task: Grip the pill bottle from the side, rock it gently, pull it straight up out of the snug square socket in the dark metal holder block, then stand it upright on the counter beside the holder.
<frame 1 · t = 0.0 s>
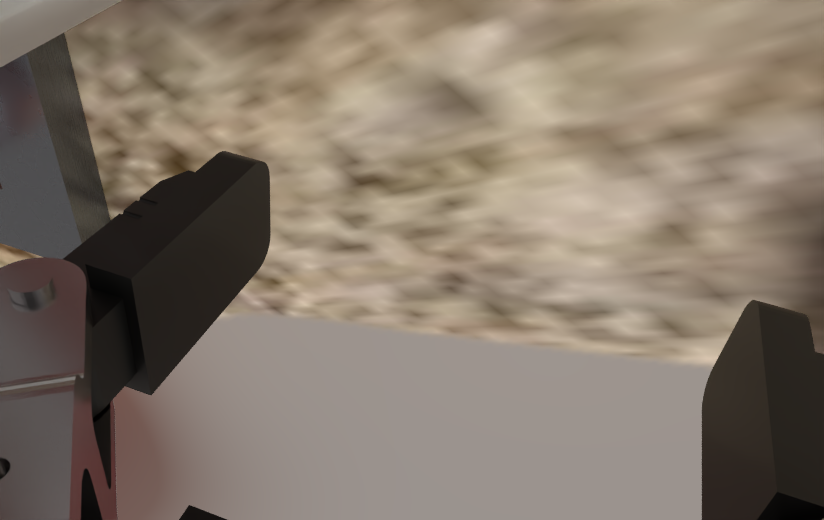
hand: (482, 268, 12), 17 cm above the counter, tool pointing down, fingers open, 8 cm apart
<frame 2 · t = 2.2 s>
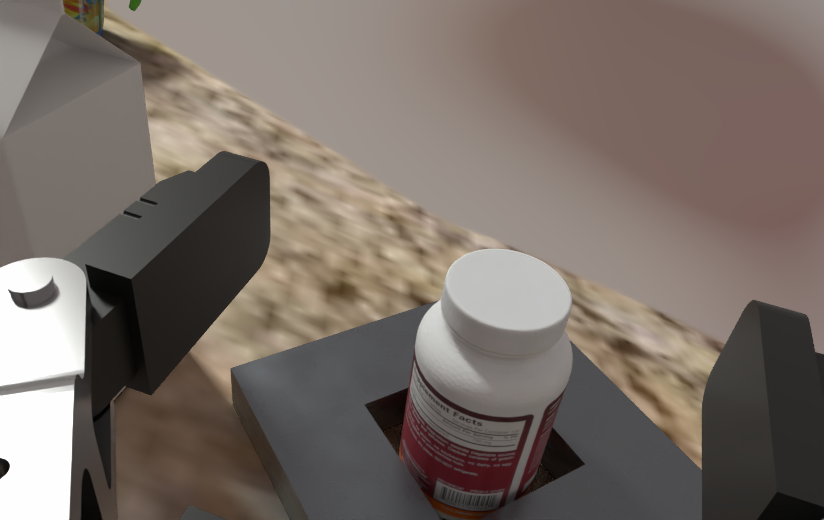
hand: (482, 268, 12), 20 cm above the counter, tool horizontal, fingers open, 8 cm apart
holder block: (463, 468, 32), on the counter
snack cup: (60, 37, 64), on the counter
pill bottle: (462, 471, 33), resting in holder block
milk carton: (72, 362, 35), on the counter
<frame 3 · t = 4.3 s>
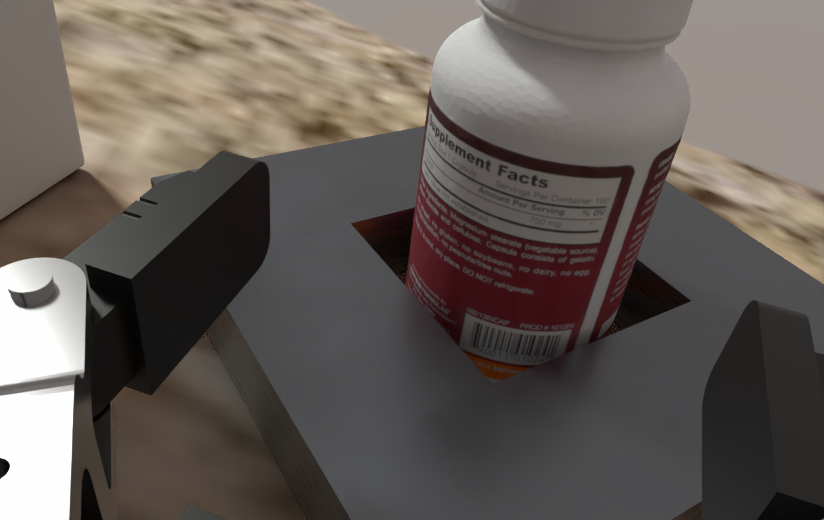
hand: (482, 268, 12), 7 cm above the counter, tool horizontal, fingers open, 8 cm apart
holder block: (500, 325, 22), on the counter
pill bottle: (498, 330, 22), resting in holder block
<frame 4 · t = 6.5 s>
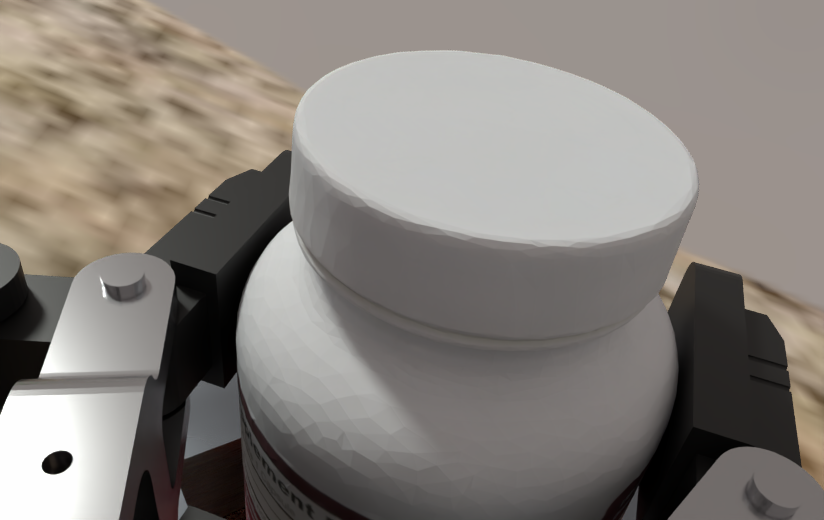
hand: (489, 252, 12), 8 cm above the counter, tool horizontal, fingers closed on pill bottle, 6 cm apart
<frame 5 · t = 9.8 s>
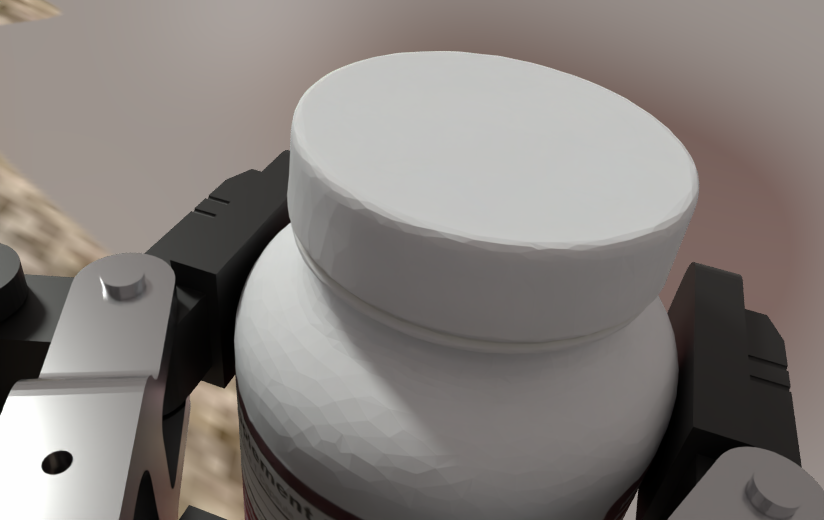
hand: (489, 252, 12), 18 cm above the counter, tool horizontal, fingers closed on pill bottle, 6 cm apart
when the fingers open (9 cm above the counter, at t = 13.0 s): pill bottle drops 1 cm, on the counter.
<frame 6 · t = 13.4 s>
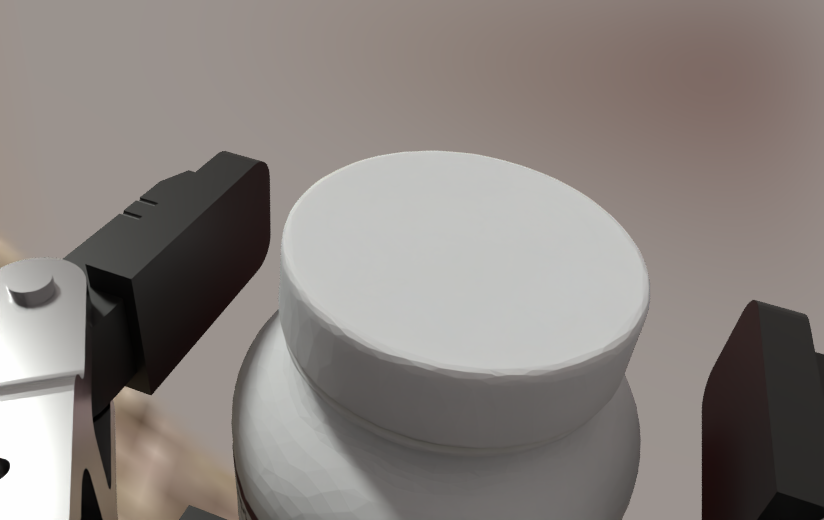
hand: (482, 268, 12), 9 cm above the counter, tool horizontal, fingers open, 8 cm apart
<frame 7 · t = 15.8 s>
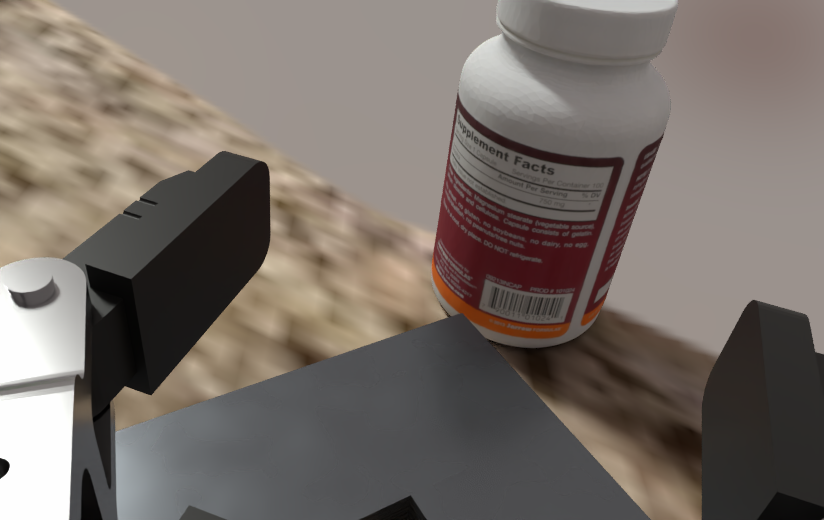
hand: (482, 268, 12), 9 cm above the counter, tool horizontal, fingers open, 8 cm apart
pill bottle: (511, 298, 26), on the counter
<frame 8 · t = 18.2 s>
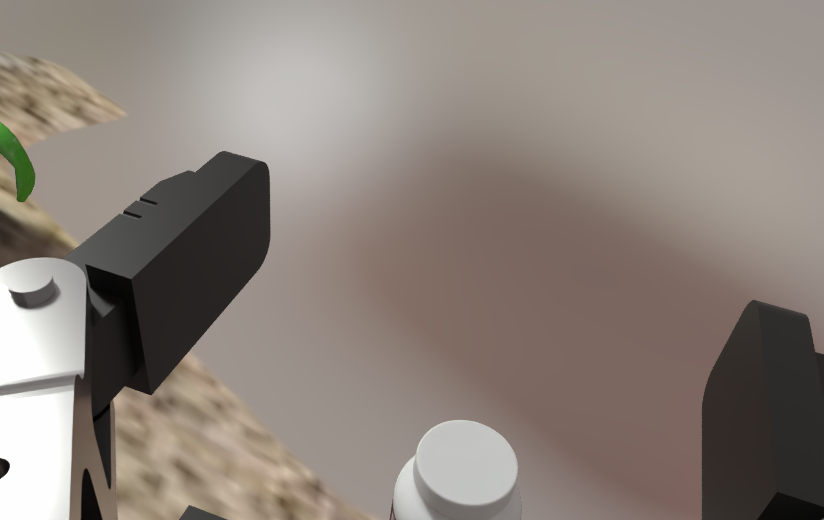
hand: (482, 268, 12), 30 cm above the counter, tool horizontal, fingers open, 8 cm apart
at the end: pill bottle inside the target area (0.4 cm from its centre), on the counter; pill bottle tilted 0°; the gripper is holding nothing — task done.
